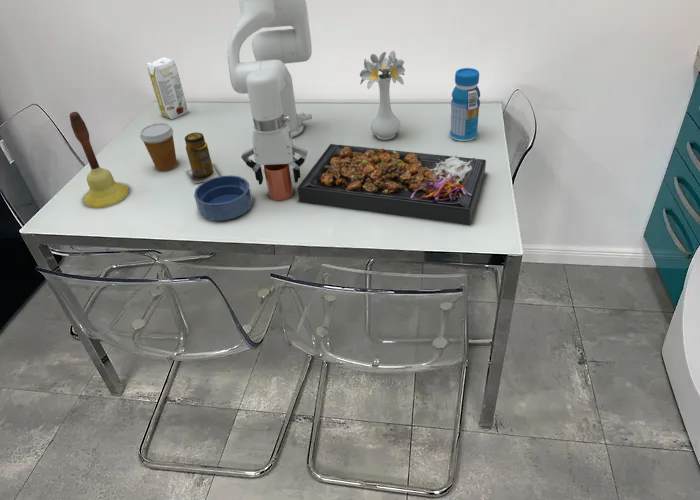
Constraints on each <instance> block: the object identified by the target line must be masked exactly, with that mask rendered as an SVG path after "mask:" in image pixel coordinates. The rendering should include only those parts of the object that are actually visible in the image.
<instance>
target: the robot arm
mask: <svg viewBox="0 0 700 500" xmlns="http://www.w3.org/2000/svg"><path fill="white" fill-rule="evenodd" d="M238 3H239V12H240V19H239V21H238V22H237V25H236V26H235V27H234V29H233V30H232V33H231V34H230V36H229V38H228V39H229V40H228V43H227V49H226V51H227V55H226V56H227V57H226V58H227V65H228V74H229V81H230V85H231V87H232V89H233V91H234V92H236V93H238V94H240V95H241V94H242V95H243V94H244V95H245V94H247V95H248V99H249V106H250V110H251V111H250V112H251V116H252V121H253V126H252V130H251V131H252V132H251V137H252V140H251V141H252V147H251V148H249V149H248V150H246V151H245V152H243V153H242V154H241V156H240V157H241V159H242V161H243V162H244V163H245V164H246V166H247V167H248V168H250V169H251V170H252V172H254V175H255V180H256V181H257V182H258V185H259V186H261V185H263V181H264V174H263V170H262V166H264V165H276V164H289V166H291V167H292V168H293V169H292V173H293V174H292V175H293V180H294V183H295V184H298V183H299V179H301V170H300V169H301V168H300V167H302V165H303V164H304V163H305V161H306V159H307V157H308V154H309V151H308V150H307V149H305V148H302V147H300V146H297V145H294V142H293V138H294V137H296V136H298V135H300V134H301V133H302V132H303V131H304V122H306V121H310V120H312V119H313V118H312V117H313V116H312V114H311V113H306V114H305V112H301V113H298V112H297V106H296V99H295V98H296V97H295V92H294V91H295V90H294V84H293V77H292V74H291V73H290V71H289V70H288V67H287V66H286V64H296V63H304V62H308V61H309V60H310V59H311V57H312V54H313V48H312V38H311V29H310V22H309V12H308V7H307V1H306V0H238ZM277 27H278V28H281V27H292V28H286V29H285V28H284V29H273V30H272V29H271V30H265V31H260V32H258V31H259V30H261V29H267V28H277ZM256 32H258V33H256ZM254 33H256V34H255V35H254V36H253V38H252V40H251V49H252V53H253V57H254V59H255V60H253V61H243V62H241V60H240V52H241V48H242V45H243V44H244V42H245V41H247V39H248V38H249V37H250V36H252V35H253V34H254ZM296 154H298V155H300V157H299V158H296V156H295V155H296ZM252 156H253V157H254V160H253V159H251V158H250V157H252Z"/></svg>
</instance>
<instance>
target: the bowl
mask: <svg viewBox="0 0 700 500" xmlns="http://www.w3.org/2000/svg"><path fill="white" fill-rule="evenodd" d="M193 196H194V200H195V203H196V207H197V210H198V213H199V214H200V217H202V218H204V219H206V220H210V221H214V222H215V221H217V222H218V221H227V220H232V219H235V218H238V217H240V216H242V215H244V214H245V213H246V212H248V211H249V210H250V209H251V207H252V205H253V196H252V192H251V185H250V182H248V180H247V179H246V178H244V177H241V176H238V175H233V174H231V175H230V174H229V175H219V177H215V178H212V179H210V180H207V181H204V182H201V183H200V184H199V185H198V186H196V188H195V190H194V195H193Z"/></svg>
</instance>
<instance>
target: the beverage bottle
mask: <svg viewBox="0 0 700 500" xmlns="http://www.w3.org/2000/svg"><path fill="white" fill-rule="evenodd" d="M479 81H480V71H479V70H478V69H477V68H471V67H463V68H459V69H456V71H455V75H454V83H455V86H454V88H453V90H452V92H451V101H450V130H449V135H450V137H451V138H452V139H453V140H455V141H459V142H469V141H472V140H475V139H476V138H477V136H478V127H479V116H480V107H481V100H480V98H481V90H480V88H479V86H478V84H479V83H480V82H479Z"/></svg>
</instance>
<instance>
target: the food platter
mask: <svg viewBox="0 0 700 500" xmlns="http://www.w3.org/2000/svg"><path fill="white" fill-rule="evenodd" d="M486 164H487V160H486V159H482V158H475V157H472V158H471V157H463V156H458V154H455V156H454V155H445V154H444V155H442V154H433V153H423V152H415V151H403V150H396V149H395V150H393V149H386V148H375V147H365V146H354V145H344V144H336V143H335V144H334V143H330V144H329V145H328V146H327V148H326V149H325V150H324V151H323V153H322V154H321V156H320V157H319V158H318V160H317V161H316V162H315V164H314V165H313V167H312V168H311V169H310V171H308V173H307V175H305V177H304V178H303V180H302V181H301V182H300V184H299V185H298V186H297V195H298V201H299V202H300V203H307V204H314V205H321V206H329V207H334V208H335V207H336V208H343V209H351V210H357V211H366V212H371V213H372V212H373V213H379V214H388V215H394V216H402V217H409V218H415V219H422V220H423V219H424V220H431V221H437V222H438V221H439V222H446V223H452V224H459V225H469V226H470V225H471V221H472V217H473V215H474V211H475V207H476V204H477V201H478V198H479V194H480V191H481V187H482V184H483V181H484V179H485V175H486V166H487V165H486Z"/></svg>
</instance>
